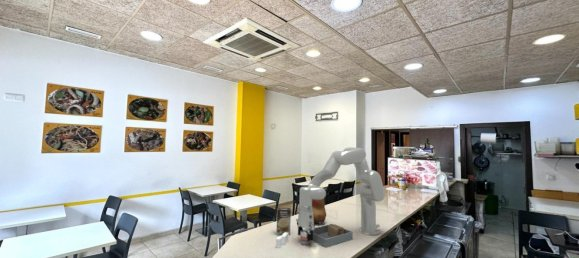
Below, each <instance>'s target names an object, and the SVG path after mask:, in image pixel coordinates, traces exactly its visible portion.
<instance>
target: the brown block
mask: <svg viewBox="0 0 579 258" xmlns="http://www.w3.org/2000/svg"><path fill="white" fill-rule="evenodd" d="M332 224H333V225H329V224H328V225H329V226H328V236H330V237H335V236H338V235H342V234H344V229H345V228H344V227H343V226H340V225H337V224H335V223H332Z"/></svg>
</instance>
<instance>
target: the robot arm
mask: <svg viewBox="0 0 579 258" xmlns="http://www.w3.org/2000/svg"><path fill="white" fill-rule="evenodd" d="M366 157H367V153H366V151H365V149H364V148H363V147H362V148H361V147H350V146H349V147H346V148H344V149H343V150H336V151H333V152H332V154H331V155H330V157H329V158H328V160H327V161H326V162H325V165H324V166H323V168H322V169H321V170H320V171H319V172H318V173H316V174H315V175H314V176H313V177H312V178H311V180H310V181H309V183H308V185H307V186H301V187H300V188H299V209H298V216H297V217H298V218H297V219H295V220H296V225H297V236H300V231H301V230H303V229H307V230H308V233H309V234H308V241H311V242H312V240H313V233H314V231H315V228H316V226H315V223H314V218H313V212H312V199H316V200H321V199H323V198H324V199H325V198H326V196H327V191H326V190H325V188H323V187H322V186H321V185H322V184H323V183H324V182H325V181H326V182H327V180H331V179H333V178H335V176H336V175H337V173H338V171H339V170H340V168H341V166H350V165H354V169H355V172H356V176H357V179H358V181H359V182H360V183H361V184H362V185H360V187H359V190H358V192H359V198H360V227H359V228H358V232H360V233H361V234H364V235H368V236H377V235H378V234H379V230H378V228H380V227H381V225H380V224H377V216H376V215H377V211H376V210H377V205H376V203H377V202H378V203H379V202H382V201H383V200H384V199H385V195H386V193H385V189H384V184H383V181H382V177H381V175H380V173H379V172H378V171H376V170H373V169H370V168H369V164H368V161H367V159H366ZM310 229H311V231H310Z"/></svg>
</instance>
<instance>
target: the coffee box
mask: <svg viewBox="0 0 579 258" xmlns="http://www.w3.org/2000/svg"><path fill="white" fill-rule="evenodd" d="M291 215H292V212H291V207H277V208H276V236H281V235H283V234H284V233H285V232H287V233H288V236H291V221H292V219H291Z"/></svg>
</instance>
